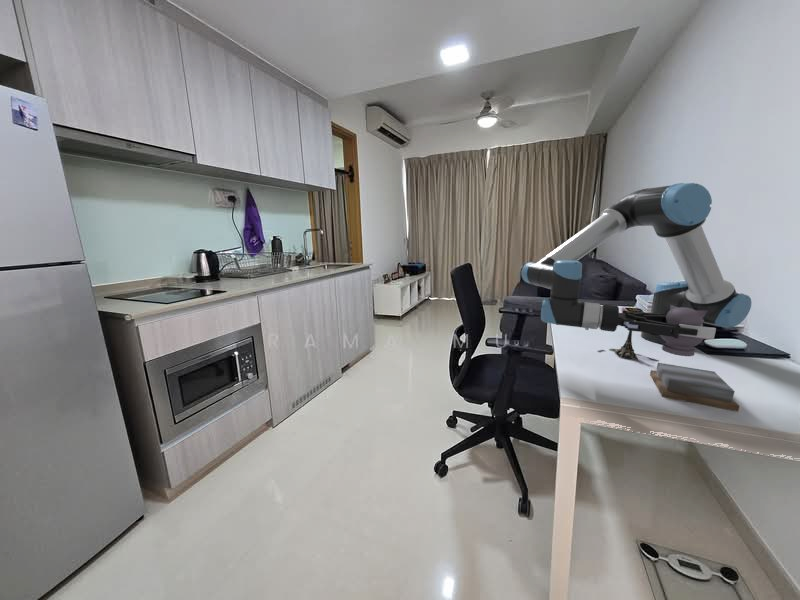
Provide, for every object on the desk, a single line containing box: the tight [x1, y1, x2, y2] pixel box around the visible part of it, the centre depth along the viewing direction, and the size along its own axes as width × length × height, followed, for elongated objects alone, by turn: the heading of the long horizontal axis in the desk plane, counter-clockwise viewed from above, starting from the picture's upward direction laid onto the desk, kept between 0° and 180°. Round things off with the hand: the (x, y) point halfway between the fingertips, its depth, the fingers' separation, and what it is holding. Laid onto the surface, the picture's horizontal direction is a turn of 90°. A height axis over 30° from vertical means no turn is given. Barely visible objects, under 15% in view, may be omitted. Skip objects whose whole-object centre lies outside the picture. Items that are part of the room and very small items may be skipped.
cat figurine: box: [660, 305, 707, 357], centre depth 79 cm, size 9×8×12 cm
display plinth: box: [649, 362, 740, 413], centre depth 81 cm, size 14×14×4 cm
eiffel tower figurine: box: [597, 330, 660, 363], centre depth 103 cm, size 15×10×13 cm
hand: (707, 328), depth 76 cm, fingers closed on cat figurine, 8 cm apart
